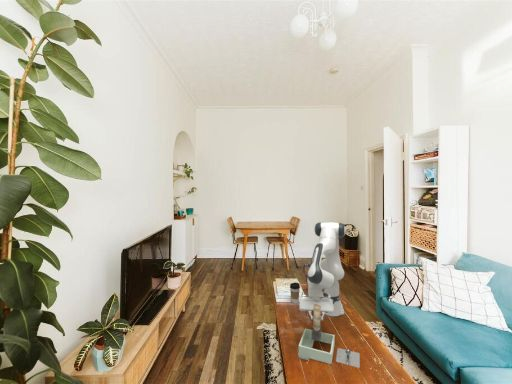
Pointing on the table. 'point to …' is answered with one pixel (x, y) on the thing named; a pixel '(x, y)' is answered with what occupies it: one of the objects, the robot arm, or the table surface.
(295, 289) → the coffee cup
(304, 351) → the bin
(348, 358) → the stud plate
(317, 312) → the strut
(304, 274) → the ceramic pitcher
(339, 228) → the robot arm
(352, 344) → the table surface
